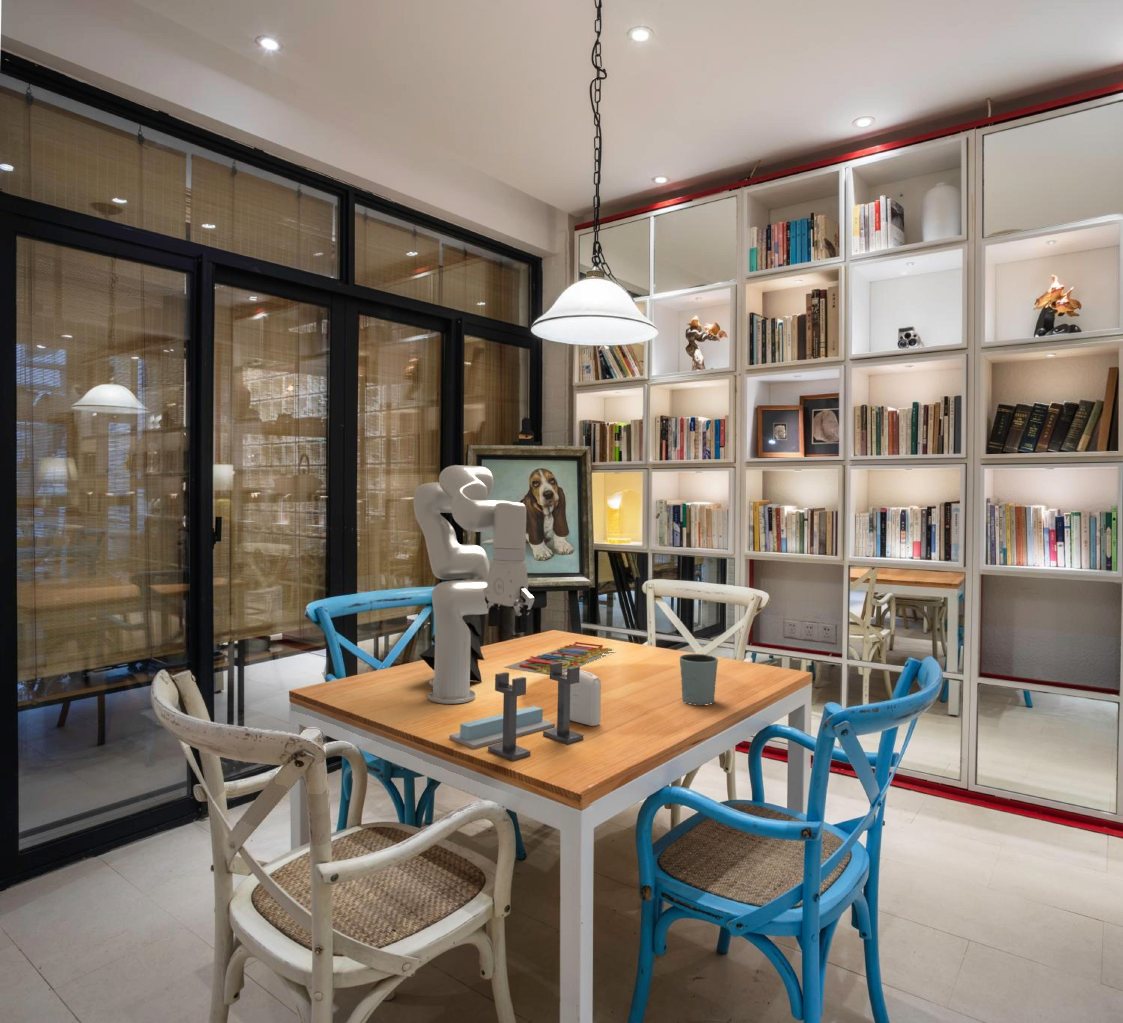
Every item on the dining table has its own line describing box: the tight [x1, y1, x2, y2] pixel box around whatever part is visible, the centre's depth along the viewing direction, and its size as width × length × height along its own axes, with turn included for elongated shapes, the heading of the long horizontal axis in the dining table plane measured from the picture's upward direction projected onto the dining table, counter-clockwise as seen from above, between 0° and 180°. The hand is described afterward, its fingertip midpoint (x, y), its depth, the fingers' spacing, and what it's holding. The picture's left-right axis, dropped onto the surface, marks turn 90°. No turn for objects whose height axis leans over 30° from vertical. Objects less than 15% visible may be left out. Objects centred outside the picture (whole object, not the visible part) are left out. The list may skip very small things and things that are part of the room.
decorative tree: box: [419, 614, 485, 683], centre depth 221 cm, size 15×15×35 cm
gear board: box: [503, 641, 615, 676], centre depth 251 cm, size 45×2×19 cm
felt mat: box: [449, 718, 556, 750], centre depth 171 cm, size 9×24×1 cm, turn 134°
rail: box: [459, 705, 544, 741], centre depth 171 cm, size 3×22×3 cm, turn 134°
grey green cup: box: [679, 653, 719, 706], centre depth 201 cm, size 10×10×12 cm
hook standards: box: [487, 662, 584, 762], centre depth 163 cm, size 8×21×16 cm, turn 134°
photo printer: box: [565, 669, 602, 727], centre depth 181 cm, size 10×4×12 cm, turn 47°
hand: (507, 629), depth 172 cm, fingers open, 9 cm apart
